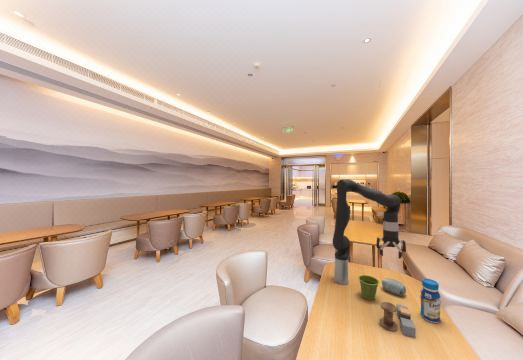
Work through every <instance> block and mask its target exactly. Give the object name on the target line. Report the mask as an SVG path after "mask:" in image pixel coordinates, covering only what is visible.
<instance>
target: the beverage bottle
mask: <svg viewBox="0 0 523 360" xmlns="http://www.w3.org/2000/svg"><path fill="white" fill-rule="evenodd" d="M421 282H422V283H421V285H422V287H421V289H420V294H419V299H420V316H421V318H422V319H424V320H425V321H427V322H430V323H432V324H433V323H434V324H439V323H440V322H441V303H442V301H441V294H440V292H439V287H440V285H439V282H437V281H436V280H434V279H431V278H422V280H421Z"/></svg>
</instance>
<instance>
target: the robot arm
mask: <svg viewBox="0 0 523 360" xmlns="http://www.w3.org/2000/svg"><path fill="white" fill-rule="evenodd" d="M336 184H337V185H336V209H335V222H334V223H335V225H334V231H333V236H332V246H333V247H334V249H335V250H336V251H335V253H334V272H333V273H334V277H333V278H334V283H337V284H339V285H347V284H349V257H350V254H351V251H350V250H351V242H350V239H349V238H348V237H347V236H346V235H344V234H345V231H346V228H347V226H348V225H349V223H350V216H351V210H350V206H349V204H348V202H347V195H348V194H347V193H355V194H358V195H361V196H362V197H363V198H365V199H367V200H369V201H370V200H371V201H373V202H376V203H377V204H379V205H381V206H382V207H385V208H386V210H385V211H383V222H382V237H379V236H377V237H376V249H379V254H380V256H381V257H383V256H384V249H385V248H386V247H389V248H390V247H391V248H396V249H397V250H398V254H397V255H398V259H402V258H403V253H404V252H405V253H406V252H407V246H406V245H407V244H406V243H407V242H406V241H405V239H402V240H401V239H399V234H400V233H399V232H400V231H399V230H400V229H399V212H400V209H401V205H402V203H401V198H400V197H399V195H397V194H385V193H383V192H382V191H380V190H378V189H375V188H371V187H367V186H365V185H362V184H360V183H357V182H356V181H354V180H352V179H349V178H347V179H346V178H343V179H341V178H340V179H339V180H338V181H337V183H336ZM381 242H383V243H382V244H381V245H380V243H381ZM399 244H401V245H402V248H401V247H400V246H399Z"/></svg>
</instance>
